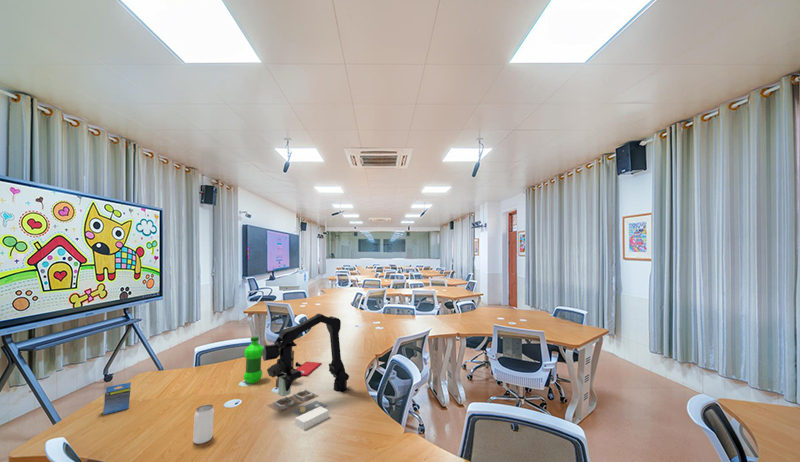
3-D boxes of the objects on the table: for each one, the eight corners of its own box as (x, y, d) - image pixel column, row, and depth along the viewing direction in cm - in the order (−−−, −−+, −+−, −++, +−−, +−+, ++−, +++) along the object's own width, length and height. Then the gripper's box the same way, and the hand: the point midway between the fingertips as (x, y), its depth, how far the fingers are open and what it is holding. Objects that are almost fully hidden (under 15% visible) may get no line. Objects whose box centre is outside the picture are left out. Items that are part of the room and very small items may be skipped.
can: (198, 435, 124) (200, 404, 125) (215, 434, 125) (217, 403, 126) (189, 444, 118) (191, 412, 119) (207, 444, 118) (208, 411, 119)
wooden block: (281, 388, 168) (282, 354, 170) (275, 387, 170) (276, 353, 172) (293, 382, 177) (294, 350, 178) (287, 381, 178) (288, 349, 180)
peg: (285, 391, 151) (286, 374, 152) (290, 393, 149) (290, 376, 149) (278, 394, 148) (278, 377, 149) (282, 396, 146) (283, 379, 146)
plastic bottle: (264, 382, 176) (266, 338, 178) (243, 386, 170) (246, 340, 172) (261, 377, 184) (262, 334, 186) (241, 380, 178) (243, 336, 180)
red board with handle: (277, 380, 180) (301, 382, 178) (277, 375, 181) (301, 377, 178) (301, 363, 210) (321, 365, 208) (301, 359, 210) (322, 360, 208)
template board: (316, 402, 152) (316, 396, 153) (328, 408, 147) (328, 401, 147) (291, 413, 141) (291, 407, 142) (302, 420, 136) (303, 413, 136)
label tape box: (128, 405, 148) (130, 379, 149) (129, 408, 145) (131, 381, 146) (103, 412, 142) (105, 384, 143) (103, 415, 139) (105, 387, 140)
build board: (306, 392, 164) (306, 387, 164) (319, 398, 157) (319, 392, 158) (266, 407, 147) (267, 402, 147) (279, 415, 140) (279, 409, 140)
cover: (320, 415, 140) (320, 406, 141) (328, 419, 137) (328, 410, 137) (295, 427, 130) (295, 417, 130) (303, 432, 126) (303, 422, 127)
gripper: (259, 356, 149) (258, 390, 148) (281, 365, 138) (279, 401, 136) (281, 351, 158) (279, 382, 157) (302, 358, 147) (301, 392, 145)
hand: (284, 389), depth 149 cm, fingers closed on peg, 4 cm apart
